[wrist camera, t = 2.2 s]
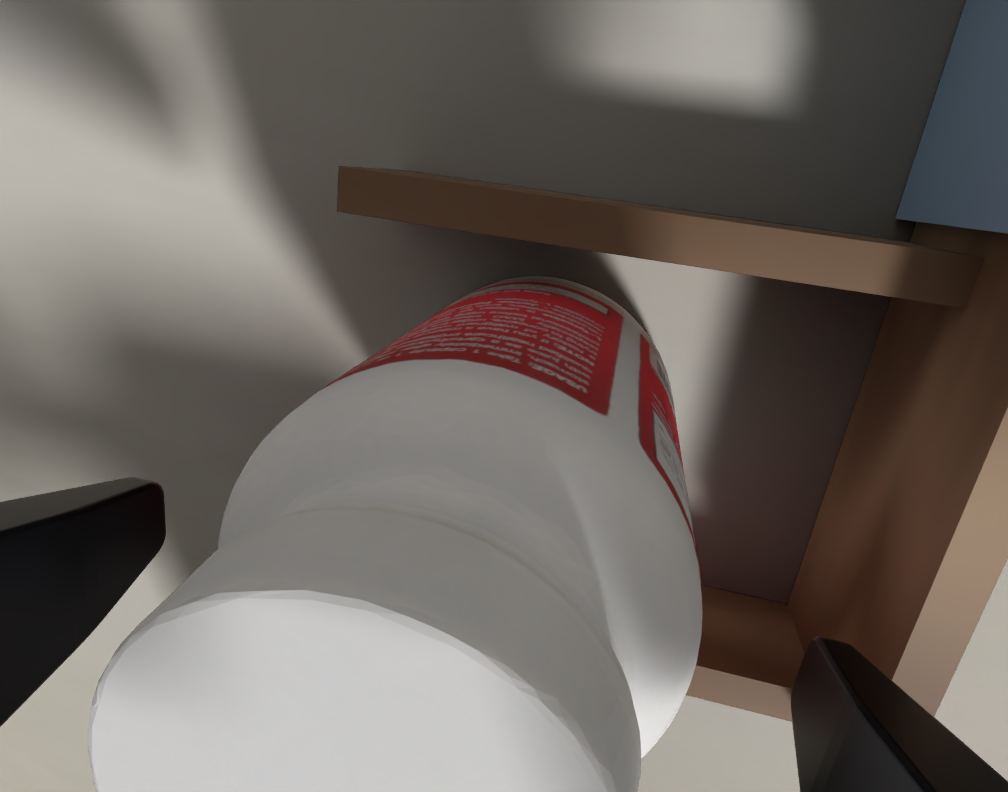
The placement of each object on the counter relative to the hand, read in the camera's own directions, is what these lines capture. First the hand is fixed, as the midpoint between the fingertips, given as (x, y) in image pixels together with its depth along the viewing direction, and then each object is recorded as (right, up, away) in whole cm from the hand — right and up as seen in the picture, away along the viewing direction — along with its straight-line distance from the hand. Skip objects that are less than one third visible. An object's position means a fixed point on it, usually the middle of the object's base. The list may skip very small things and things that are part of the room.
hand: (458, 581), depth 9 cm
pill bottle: (+1, +2, +7) cm, 8 cm away
